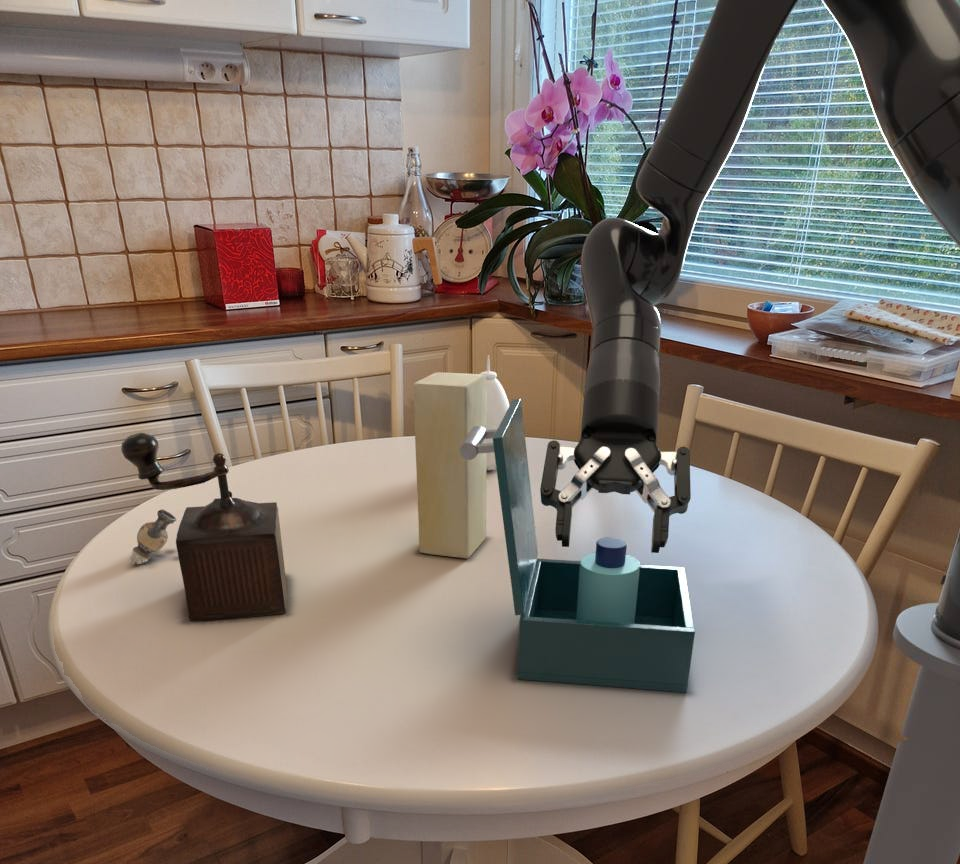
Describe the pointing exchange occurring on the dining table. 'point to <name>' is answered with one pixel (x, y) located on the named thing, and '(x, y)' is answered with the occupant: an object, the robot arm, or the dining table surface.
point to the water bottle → (608, 583)
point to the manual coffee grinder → (221, 544)
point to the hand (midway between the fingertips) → (610, 546)
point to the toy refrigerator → (449, 463)
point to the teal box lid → (511, 495)
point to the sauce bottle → (493, 408)
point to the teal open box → (607, 632)
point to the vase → (152, 537)
